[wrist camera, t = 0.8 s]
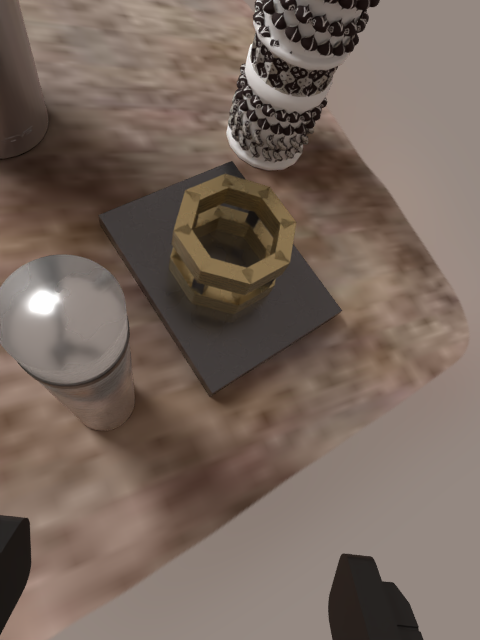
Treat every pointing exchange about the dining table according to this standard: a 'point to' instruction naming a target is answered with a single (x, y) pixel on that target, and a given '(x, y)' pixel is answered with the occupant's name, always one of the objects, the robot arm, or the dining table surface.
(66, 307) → the metal thermos flask
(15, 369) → the dining table surface
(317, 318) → the collar stand
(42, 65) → the dining table surface
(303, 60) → the decorative candle
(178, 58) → the dining table surface
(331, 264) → the dining table surface
